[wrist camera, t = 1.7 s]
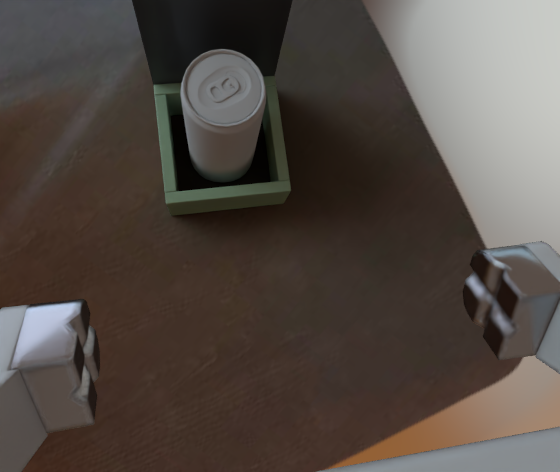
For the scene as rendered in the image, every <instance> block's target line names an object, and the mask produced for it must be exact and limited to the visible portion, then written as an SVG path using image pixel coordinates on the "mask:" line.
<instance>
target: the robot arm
mask: <svg viewBox="0 0 560 472" xmlns="http://www.w3.org/2000/svg"><path fill="white" fill-rule="evenodd" d="M470 266H471V267H472V269H473V271H474V272H473V273H472V274H471V275H470V276H469V277H468V279H467V280H466V281H465V285H464V289H463V299H464V305H465V308H466V311H467V313H468V315H469V316H470V318H471V320H472V321H473V322H474V323H476V324H478V325H480V326H481V327H483V328H484V334H483V338H484V339H485V341H486V342H487V344H488V345H489V346H490V348H491V349H492V351H493V352H494V354H495V355H496V357H497V358H498V360H503V359H510V358H518V357H526V356H533V355H536V358H537V359H539V360H540V361H542V362H543V363H545V364H546V365H548V366H549V367H550V368H552V369H553V370H555V371H556V372H558V373H559V374H560V255H559V254H558V253H557V252H556V251H555V250H554V249H553V248H552V247H551V246H550V245H549V244H547V243H545V242H542V241H540V242H532V243H526V244H520V245H514V246H507V247H499V248H491V249H483V250H477V251H476V252H475V253H474V255H473V256H472V259H471V263H470ZM89 321H90V311H89V308H88V305H87V302H86V301H85V300H84V299H77V300H68V301H58V302H48V303H38V304H30V305H23V306H13V307H3V308H1V309H0V472H22V470H23V469H24V467H25V466H26V465H27V463H28V462H29V461H30V459H31V458H32V456H33V455H34V454H35V452H36V451H37V449H38V448H39V447H40V445H41V444H42V443H43V441H44V440H45V438H46V437H47V433H50V432H56V431H61V430H66V429H72V428H77V427H82V426H88V425H93V424H94V420H95V410H96V401H97V393H96V390H95V387H94V383H93V382H94V381H95V380H96V379H97V378H98V377H99V370H100V351H99V344H98V338H97V335H96V331H95V329H93V328H92V327H90V326H89ZM317 472H560V427H556V428H551V429H545V430H539V431H534V432H529V433H523V434H518V435H512V436H508V437H502V438H497V439H491V440H485V441H480V442H475V443H469V444H464V445H459V446H453V447H448V448H442V449H437V450H431V451H426V452H421V453H415V454H410V455H404V456H399V457H393V458H388V459H383V460H377V461H372V462H366V463H361V464H355V465H350V466H345V467H339V468H333V469H328V470H322V471H317Z"/></svg>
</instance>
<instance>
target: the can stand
mask: <svg viewBox="0 0 560 472" xmlns="http://www.w3.org/2000/svg"><path fill="white" fill-rule="evenodd" d="M132 2H133V6H134V10H135V14H136V18H137V22H138V26H139V30H140V34H141V38H142V42H143V45H144V49H145V53H146V57H147V61H148V65H149V69H150V73H151V77H152V81H153V85H154V95H155V105H156V114H157V123H158V133H159V142H160V151H161V161H162V170H163V180H164V189H165V198H166V204H167V207H168V209H169V212H170V214H171V216H173V215H182V214H192V213H201V212H210V211H219V210H229V209H238V208H247V207H256V206H266V205H275V204H283V203H284V202H285V200H286V199H287V197H288V195H289V193H290V192H291V186H290V181H289V172H288V165H287V158H286V151H285V144H284V137H283V130H282V123H281V116H280V109H279V102H278V95H277V88H276V81H275V76H274V75H275V71H276V67H277V63H278V59H279V54H280V50H281V46H282V42H283V38H284V34H285V29H286V25H287V21H288V17H289V13H290V8H291V4H292V0H132ZM217 49H227V50H233V51H236V52H239V53H242V54H243V55H245V56H246V57H248V58H249V59H251V60H252V61H253V62H254V63H255V64H256V66H257V67H258V68H259V70H260V72H261V74H262V76H263V79H264V84H265V88H266V104H265V108H264V113H263V117H262V121H263V129H264V136H265V143H266V150H267V158H268V165H269V172H270V179H271V182H266V183H256V184H247V185H237V186H227V187H217V188H207V189H197V190H188V191H179V186H178V177H177V168H176V159H175V150H174V141H173V132H172V123H171V116H172V115H183V108H182V102H181V95H180V94H181V83H182V81H183V77H184V74H185V72H186V69H187V68H188V66H189V65H190V64H191V62H192V61H193V60H194V59H196V58H197V57H198V56H200V55H201V54H203V53H206V52H208V51H211V50H217Z"/></svg>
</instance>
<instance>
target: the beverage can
mask: <svg viewBox="0 0 560 472" xmlns="http://www.w3.org/2000/svg"><path fill="white" fill-rule="evenodd" d="M180 95H181V102H182V108H183V115H184V121H185V128H186V134H187V141H188V147H189V154H190V159H191V163H192V165H193V167H194V169H195V170H196V171H197V172H198V174H199V175H200V176H202V177H204V178H205V179H207V180H210V181H213V182H221V183H224V182H232V181H234V180H237V179H240V178H241V177H242V176H243V175H245V174H246V172H247V171H248V170H249V168H250V166H251V163H252V161H253V157H254V152H255V148H256V143H257V139H258V135H259V130H260V126H261V121H262V117H263V113H264V108H265V104H266V88H265V84H264V79H263V76H262V74H261V72H260V70H259V68H258V67H257V66H256V64H255V63H254V62H253V61H252V60H251V59H249V58H248V57H246V56H245V55H243V54H242V53H239V52H236V51H233V50H227V49H217V50H211V51H208V52H206V53H203V54H201V55H200V56H198V57H197V58H196V59H194V60H193V61H192V62H191V64H190V65H189V66H188V68H187V69H186V72H185V74H184V77H183V81H182V83H181V94H180Z"/></svg>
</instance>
